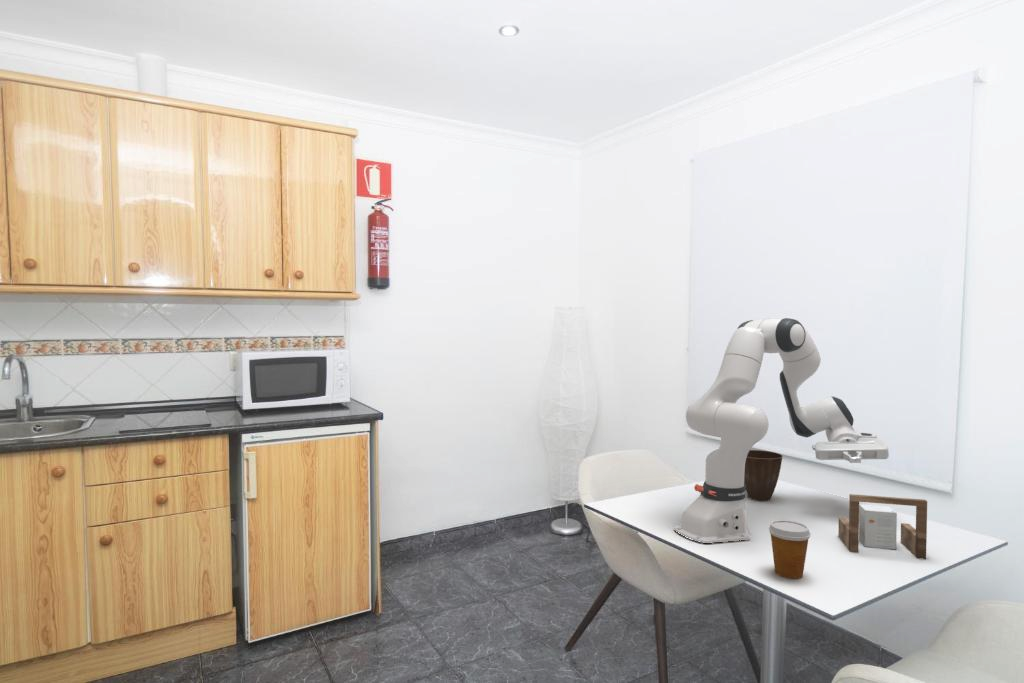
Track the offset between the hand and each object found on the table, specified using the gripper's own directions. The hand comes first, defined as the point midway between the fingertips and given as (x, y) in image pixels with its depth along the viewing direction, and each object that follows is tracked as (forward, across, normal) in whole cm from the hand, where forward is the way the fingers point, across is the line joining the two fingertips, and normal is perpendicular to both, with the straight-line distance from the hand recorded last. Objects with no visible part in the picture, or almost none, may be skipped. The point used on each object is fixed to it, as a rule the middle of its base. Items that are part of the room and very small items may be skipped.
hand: (855, 460), depth 177 cm
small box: (+18, +1, +18) cm, 25 cm away
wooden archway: (+20, +2, +18) cm, 26 cm away
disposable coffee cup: (+47, -24, +10) cm, 54 cm away
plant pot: (-19, -28, +22) cm, 40 cm away
